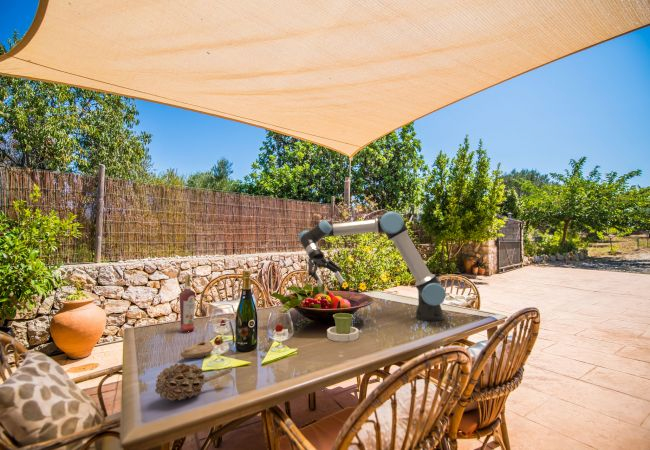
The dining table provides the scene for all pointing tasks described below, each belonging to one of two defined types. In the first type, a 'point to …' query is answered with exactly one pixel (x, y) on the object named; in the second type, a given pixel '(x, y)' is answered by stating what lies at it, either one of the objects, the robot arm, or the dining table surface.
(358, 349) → the dining table surface
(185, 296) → the liquor
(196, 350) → the pottery oil lamp
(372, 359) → the dining table surface
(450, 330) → the dining table surface
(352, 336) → the saucer
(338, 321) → the plant pot
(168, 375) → the banksia seed pod
